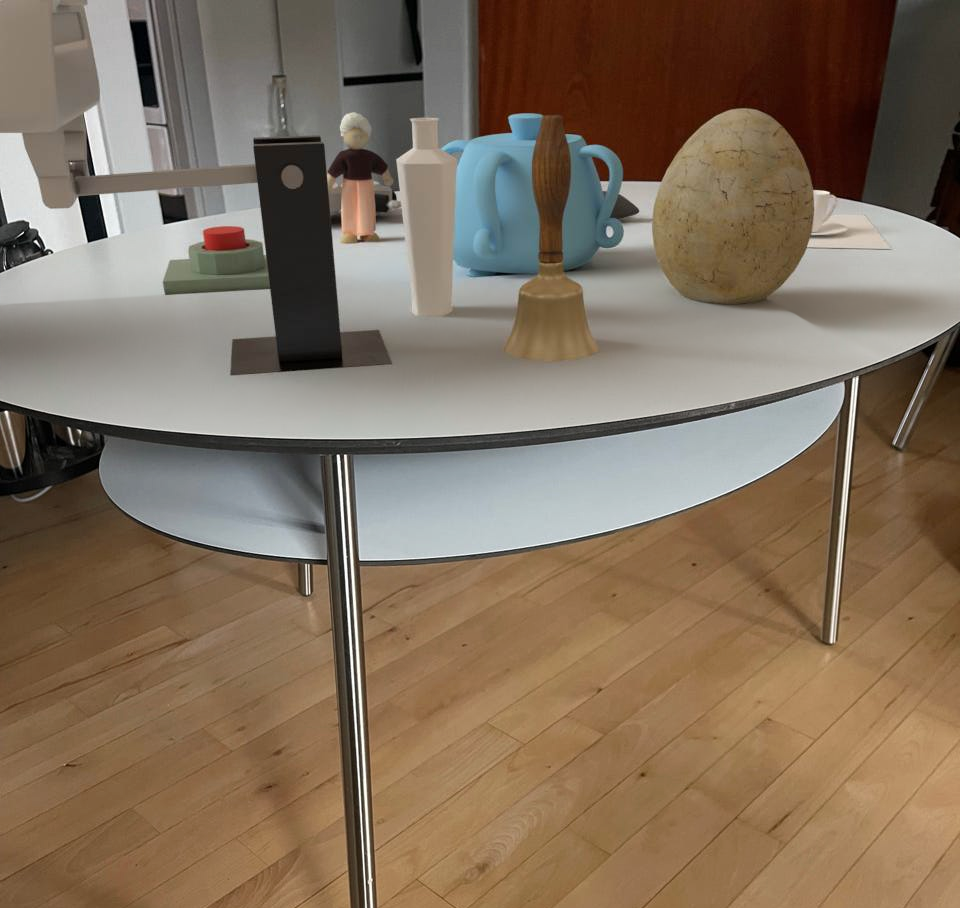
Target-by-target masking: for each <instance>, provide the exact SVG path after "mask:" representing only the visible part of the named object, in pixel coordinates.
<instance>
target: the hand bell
mask: <svg viewBox="0 0 960 908" xmlns="http://www.w3.org/2000/svg"><path fill="white" fill-rule="evenodd" d="M564 127H565V126H564V123H563V116H562V115H561V114H560V115H559V114H546V115H543V116H542V120H541V125H540V130H539V133H538V137H537V140H536V144H535V147H534V152H533V158H532V185H533V193H534V198H535V202H536V205H537V209H538V213H539V220H540V233H539V250H540V252H539V254H538V259H539V260H540V262H539V272H538V274H536V276H535V277H533V278H531V279H530V280H529V281H527V282H525V283H523V284H522V285H521V286H520V287H519V290H518V297H517V305H516V306H517V307H516V314H515V318H514V322H513V326H512V329H511V331H510V334H509V336H508V338H507V339H506V341H505V343H504V344H503V347H502V349H503V350H504V352H505V353H506V354H508V355H510V356H512V357H515V358H517V359H519V358H520V359H522V360H527V361H535V362H566V361H567V362H568V361H574V360H581V359H584V358H587V357H590V356H593V355H595V354H596V353H597V352H598V351H599V348H600V347H599V344H598V343H597V342H596V340H595V339H594V336H593V335H592V332H591V330H590V328H589V327H590V326H589V324H588V319H587V315H586V307H585V301H584V289H583V286H582V285H581V284H580V283H579V282H576V281H575V280H573V279H572V278H570V277H568V276H567V275H566V274H565V271H564V270H563V252H562V249H563V239H562V220H563V214H564V210H565V206H566V203H567V199H568V195H569V189H570V182H571V156H570V150H569V146H568V142H567V138H566V135H565V134H566V132H565V128H564Z"/></svg>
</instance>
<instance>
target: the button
mask: <svg viewBox="0 0 960 908" xmlns="http://www.w3.org/2000/svg"><path fill="white" fill-rule="evenodd" d="M202 235H203V242H204V243H205V250H212V251H227V250H236V249H242V248H246V240H245V239H246V234H245V228H244V227H241V226H235V225H225V226H223V225H221V226H213V227H207V228H205V229H203V230H202Z"/></svg>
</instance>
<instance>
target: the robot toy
mask: <svg viewBox="0 0 960 908" xmlns="http://www.w3.org/2000/svg"><path fill="white" fill-rule="evenodd" d="M373 183H374V195H375V210H376V216H377V217H378V216H380V215H381V214H382V213H384V214H386V213H389V211H392V210H398V209H400V208H402V206H401V200H398V198H397V194H396V192H395V191H394V190H393V189H392V188H391V187H390V186H386V185H385V186H384V185H382V184H381V183H380V181H379V182H378V181H375V180H373ZM341 196H342V183H341V184H339V183H337V182H335V183H334V184H333V189H332V191H331V192H329V205H330V216H334V215H335V216H336V215H337V214H338V213H340V212H341Z"/></svg>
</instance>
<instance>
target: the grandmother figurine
mask: <svg viewBox="0 0 960 908" xmlns="http://www.w3.org/2000/svg"><path fill="white" fill-rule="evenodd" d="M339 130H340V137H342V138H343V142H344V143H345V146H347V149H343V150H341V151H339V152H338V154H337V155H336V157H335V158H334V159H333V161H332V163H331V165H330V166H329V168H328V169H327V181H328V193H329V192H331V191H332V189H333V184H334V183H336V180H337V179H338V178H339V177H340V176H342V182H341V184H342V196H341V210H340V219H341V232H342V234H343V235H342V236H341V238H340V240H339V243H340V244H343V245H345V244H346V245H347V244H349V245H350V244H356V243H359V240H360V241H362V242H366V243H367V242H368V243H369V242H379V241H380V240H381V239H380V237H379V235H378V234H377V233H376V229H377V228H376V227H377V225H376V224H377V222H376V220H377V218H376V210H375V195H374V183H373V181H374V178H373V176H372V174H375V175H379V177H381V179H382V181H383V184H384V185H385V187H390V186H392V185H394V178H393V177H392V176H391V172H390V171H389V168H388V167H389V165H388V164H387V163H386V161H385V160H384V159H383V158H382V157H381V156H380V155H379V154H377V153H375V152H374V151H372V150H369V149H366V148H365V147H366V146H367V144H368V141H369V138H370V136H371V134H372V130H373V128H372V126H371V124H370V122H369V120H368V119H367V117H364V116H363V115H362V114H360V113H357V112H356V111H353V112H350V113H346V114H345V115H343V117H342V119H341V123H340V125H339ZM358 237H359V239H358Z"/></svg>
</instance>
